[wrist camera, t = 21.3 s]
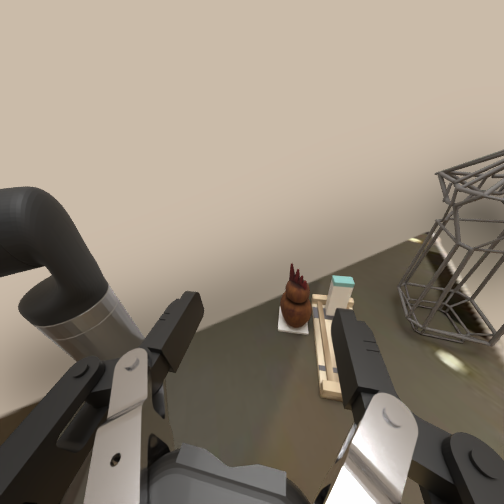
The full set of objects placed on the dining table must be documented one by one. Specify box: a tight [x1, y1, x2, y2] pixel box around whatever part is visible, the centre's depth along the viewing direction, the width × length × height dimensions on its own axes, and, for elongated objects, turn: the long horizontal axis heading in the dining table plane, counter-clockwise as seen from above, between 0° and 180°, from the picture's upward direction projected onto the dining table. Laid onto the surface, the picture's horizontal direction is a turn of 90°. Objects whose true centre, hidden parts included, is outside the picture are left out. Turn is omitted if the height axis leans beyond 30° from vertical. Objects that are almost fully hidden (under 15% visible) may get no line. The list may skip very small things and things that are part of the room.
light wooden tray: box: [311, 294, 354, 402], centre depth 36 cm, size 9×20×3 cm, turn 169°
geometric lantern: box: [397, 150, 504, 346], centre depth 30 cm, size 16×16×35 cm
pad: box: [278, 307, 308, 335], centre depth 42 cm, size 6×6×1 cm
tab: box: [325, 276, 354, 316], centre depth 38 cm, size 4×2×10 cm, turn 79°
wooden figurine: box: [280, 264, 312, 328], centre depth 37 cm, size 7×6×15 cm
